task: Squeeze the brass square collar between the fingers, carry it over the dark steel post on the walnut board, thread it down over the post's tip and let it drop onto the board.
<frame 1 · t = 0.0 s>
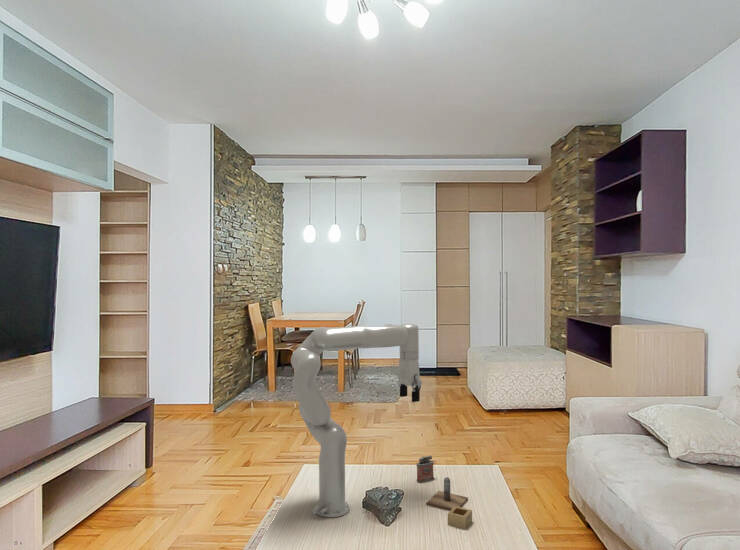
hand: (409, 398, 196), 37 cm above the table, tool pointing down, fingers open, 9 cm apart
lighter: (425, 481, 208), on the table
collar: (460, 523, 171), on the table
post: (447, 502, 187), on the table
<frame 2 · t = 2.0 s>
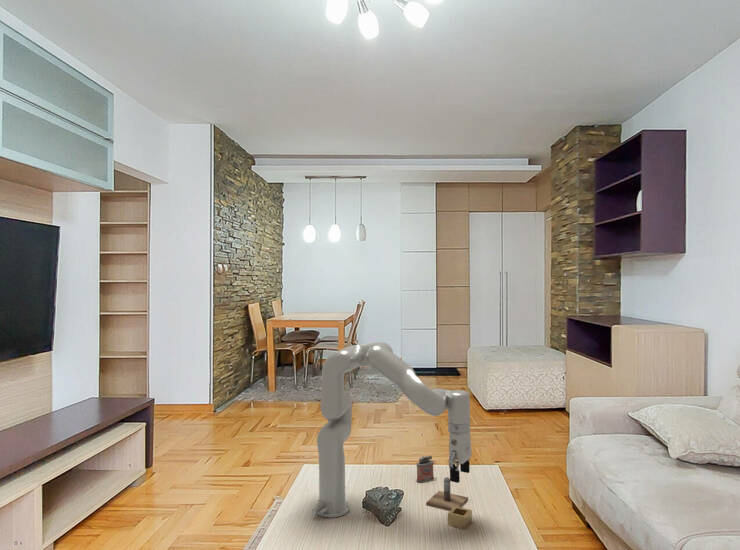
hand: (460, 476, 171), 16 cm above the table, tool pointing down, fingers open, 9 cm apart
nothing on the table moved.
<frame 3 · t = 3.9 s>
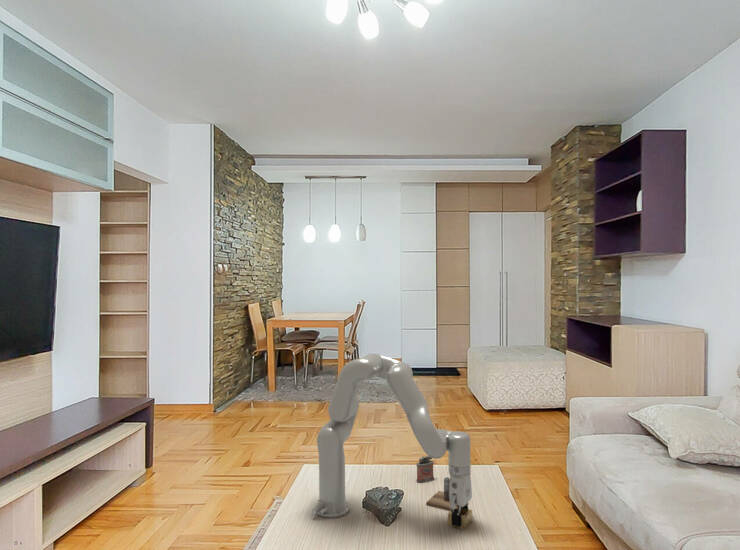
hand: (460, 520, 171), 1 cm above the table, tool pointing down, fingers closed on collar, 6 cm apart
collar: (460, 523, 171), on the table, touching gripper
everything else where it was.
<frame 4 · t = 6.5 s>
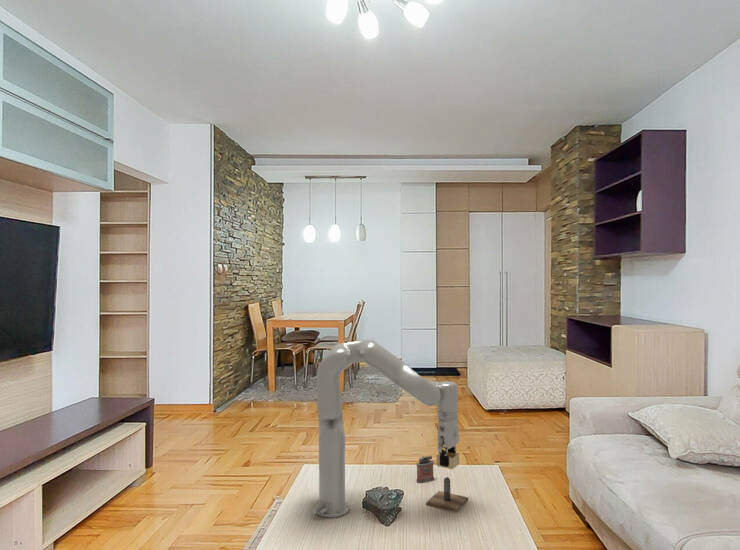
hand: (447, 462, 186), 16 cm above the table, tool pointing down, fingers closed on collar, 6 cm apart
collar: (447, 464, 186), point 15 cm above the table, touching gripper
everything else where it was.
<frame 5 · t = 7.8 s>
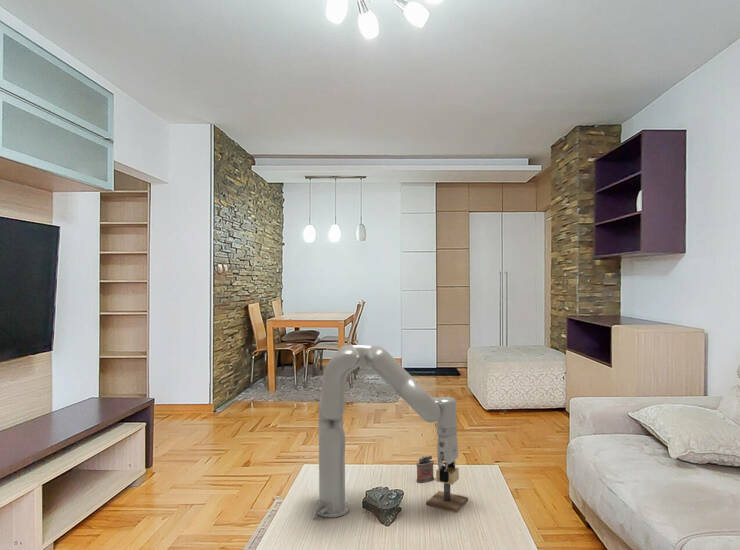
hand: (447, 477, 187), 9 cm above the table, tool pointing down, fingers closed on collar, 6 cm apart
collar: (447, 480, 187), point 8 cm above the table, touching gripper
everything else where it was.
when the fingers open (5 cm above the table, at t = 9.1 s): collar drops 3 cm, resting on post.
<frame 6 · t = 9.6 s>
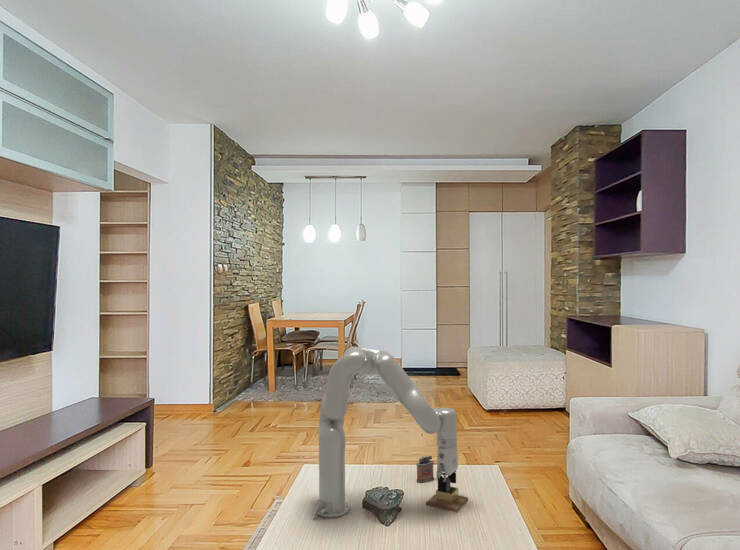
hand: (447, 487, 187), 6 cm above the table, tool pointing down, fingers open, 9 cm apart
collar: (447, 499, 187), point 1 cm above the table, touching post
everything else where it was.
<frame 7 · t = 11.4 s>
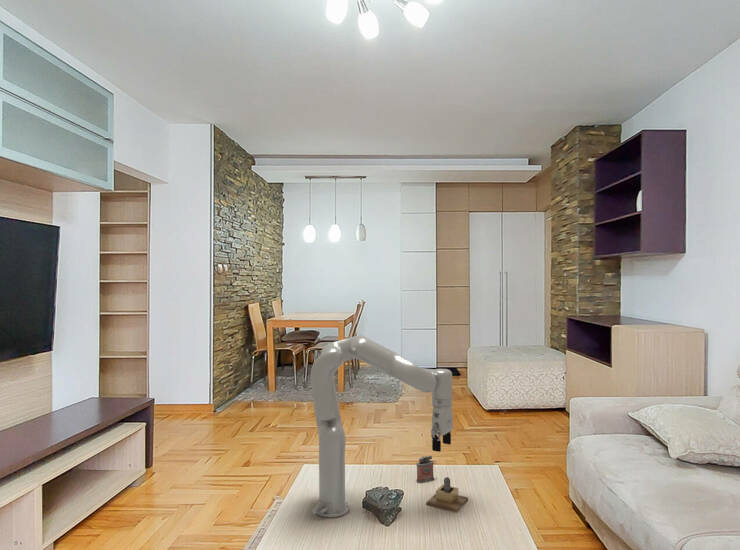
hand: (441, 447, 188), 21 cm above the table, tool pointing down, fingers open, 9 cm apart
nothing on the table moved.
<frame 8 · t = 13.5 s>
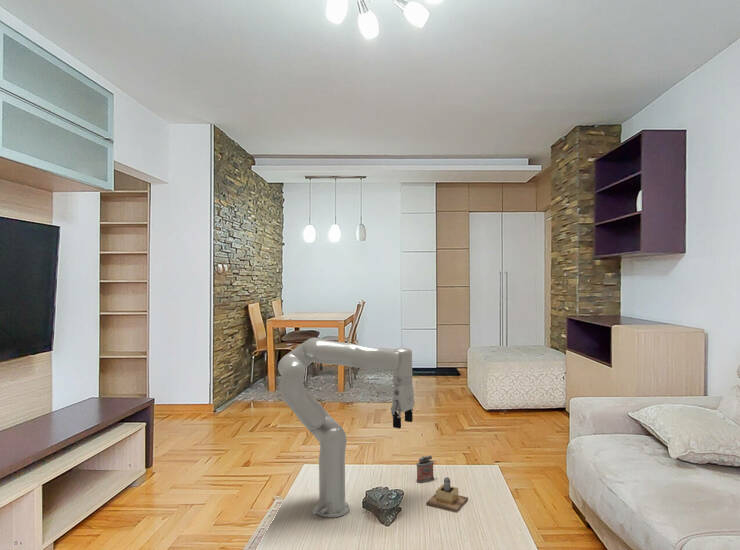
hand: (402, 424, 191), 28 cm above the table, tool pointing down, fingers open, 9 cm apart
nothing on the table moved.
at the end: collar 0.0 cm from the post (horizontally); collar point 1.0 cm above the table; collar tilted 0° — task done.
